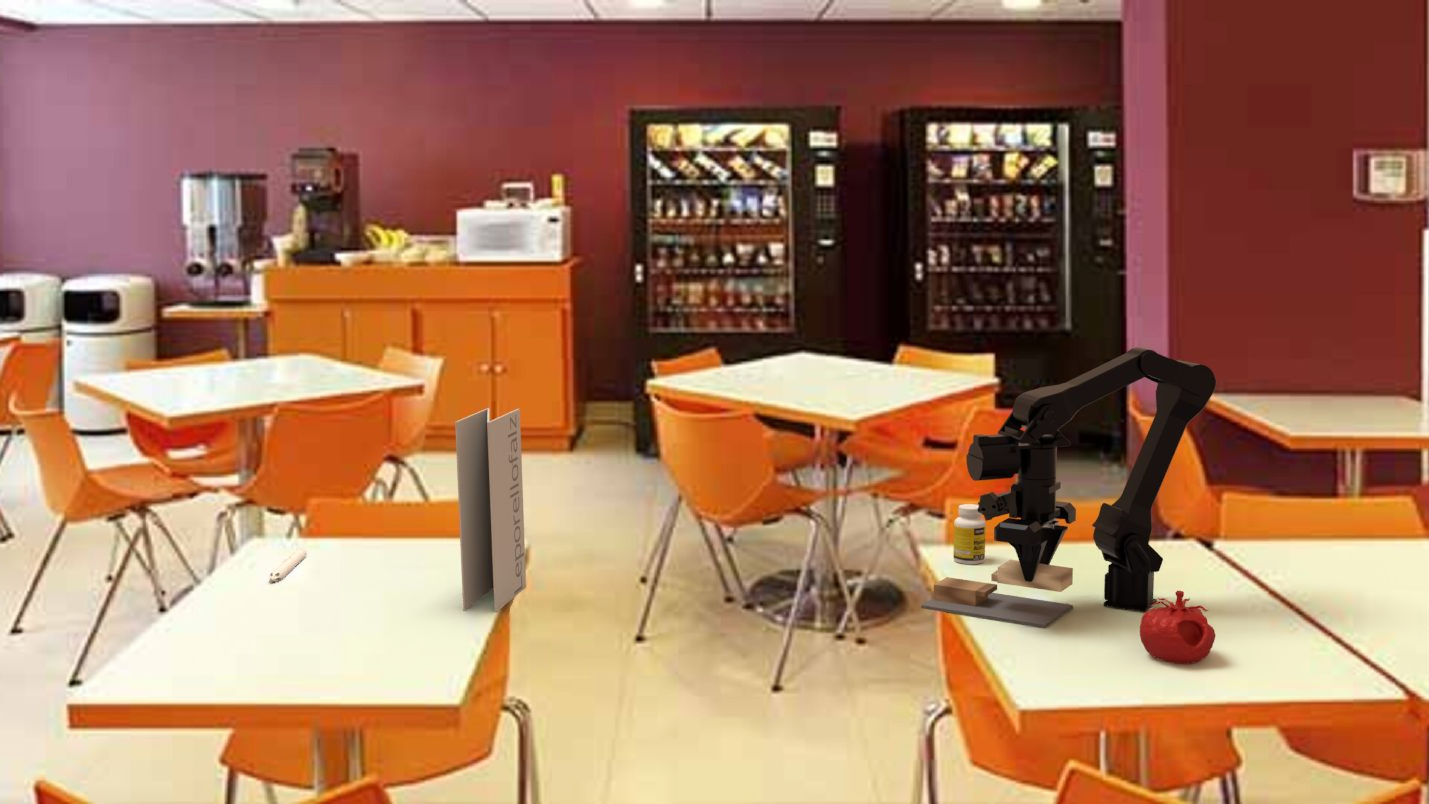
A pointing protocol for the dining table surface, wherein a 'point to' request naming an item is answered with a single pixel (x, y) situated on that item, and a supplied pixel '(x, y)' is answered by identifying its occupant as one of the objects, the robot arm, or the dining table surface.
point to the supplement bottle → (969, 535)
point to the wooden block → (962, 591)
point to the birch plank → (1043, 579)
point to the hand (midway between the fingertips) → (1035, 577)
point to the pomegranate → (1177, 632)
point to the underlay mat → (1007, 609)
